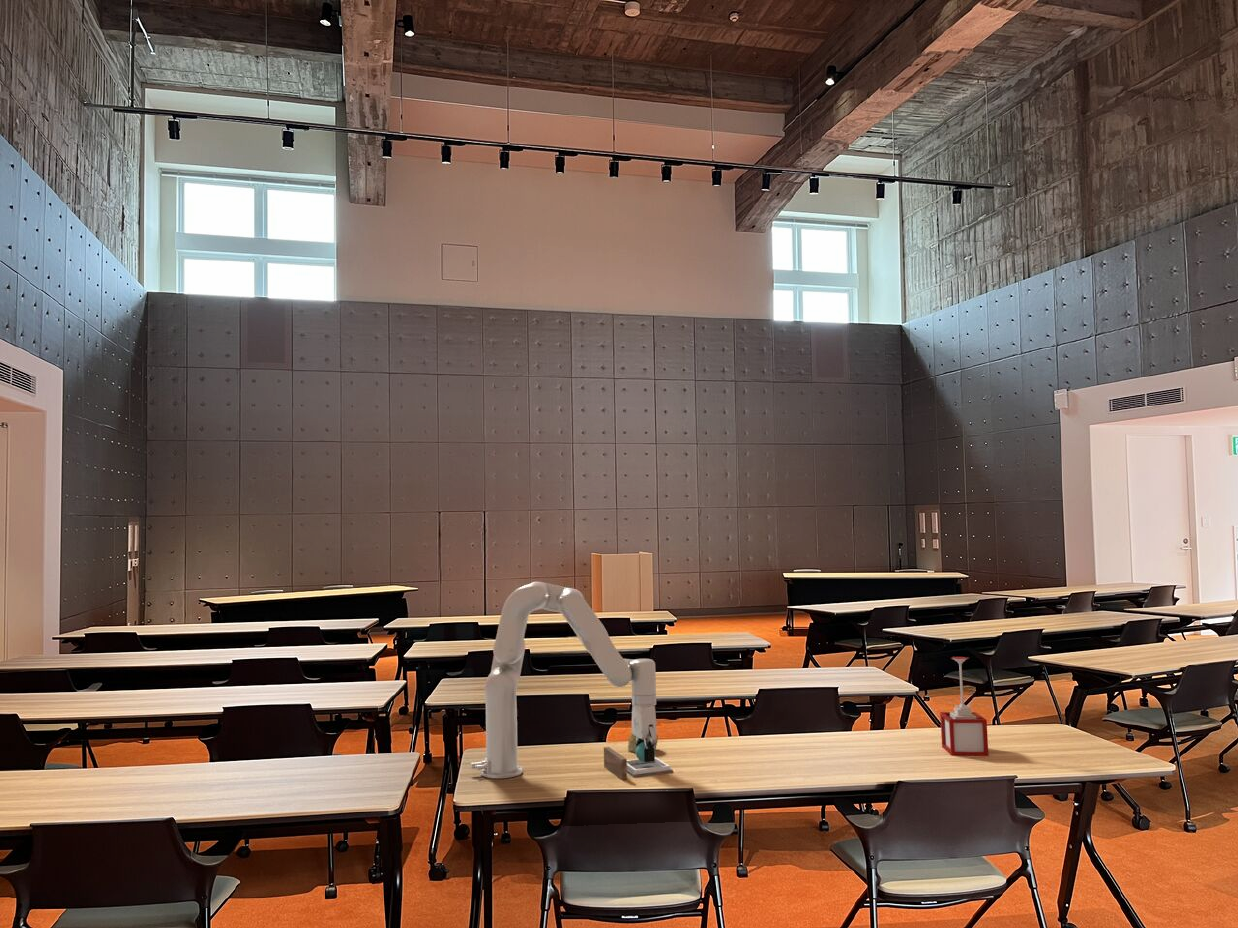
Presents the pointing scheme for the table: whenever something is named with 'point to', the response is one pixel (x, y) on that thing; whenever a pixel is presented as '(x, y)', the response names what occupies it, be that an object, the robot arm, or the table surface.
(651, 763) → the grey square tray
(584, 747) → the table surface
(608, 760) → the low wall
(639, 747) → the ball
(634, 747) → the rock
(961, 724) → the pendant light
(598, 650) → the robot arm
